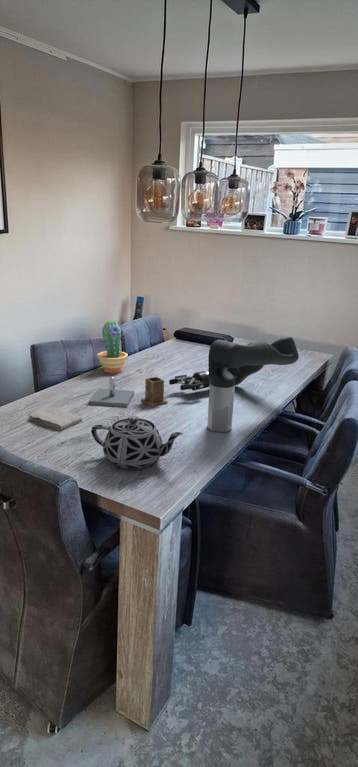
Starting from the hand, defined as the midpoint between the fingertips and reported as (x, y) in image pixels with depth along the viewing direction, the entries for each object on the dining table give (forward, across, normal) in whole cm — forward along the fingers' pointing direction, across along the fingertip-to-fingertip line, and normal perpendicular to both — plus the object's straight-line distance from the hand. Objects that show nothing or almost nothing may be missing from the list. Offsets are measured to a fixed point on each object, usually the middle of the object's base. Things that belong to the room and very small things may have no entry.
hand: (175, 385), depth 220 cm
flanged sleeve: (+10, 0, -6) cm, 12 cm away
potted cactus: (+5, +49, -6) cm, 49 cm away
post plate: (+24, +12, -6) cm, 27 cm away
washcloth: (+53, +2, -6) cm, 54 cm away
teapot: (+44, -43, -6) cm, 61 cm away
